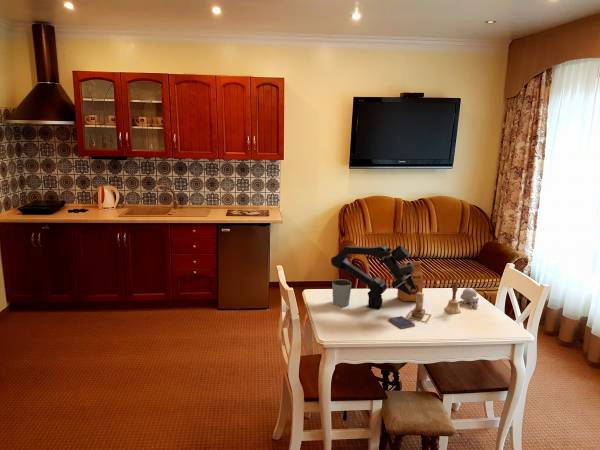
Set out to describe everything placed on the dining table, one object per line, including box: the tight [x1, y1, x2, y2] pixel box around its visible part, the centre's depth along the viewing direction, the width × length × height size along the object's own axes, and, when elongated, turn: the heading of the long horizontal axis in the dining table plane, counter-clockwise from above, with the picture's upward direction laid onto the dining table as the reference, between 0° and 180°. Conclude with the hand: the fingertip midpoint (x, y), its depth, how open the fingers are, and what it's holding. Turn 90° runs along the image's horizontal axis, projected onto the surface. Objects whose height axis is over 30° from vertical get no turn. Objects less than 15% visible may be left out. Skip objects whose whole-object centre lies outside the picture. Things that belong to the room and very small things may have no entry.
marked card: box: [403, 309, 434, 325], centre depth 223 cm, size 12×12×1 cm
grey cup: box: [331, 278, 352, 308], centre depth 234 cm, size 10×10×12 cm
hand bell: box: [443, 281, 462, 315], centre depth 230 cm, size 8×8×16 cm
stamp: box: [411, 292, 426, 319], centre depth 221 cm, size 5×5×12 cm
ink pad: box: [387, 315, 416, 329], centre depth 214 cm, size 10×8×1 cm
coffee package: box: [396, 260, 424, 302], centre depth 243 cm, size 10×12×22 cm
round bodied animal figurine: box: [460, 287, 479, 309], centre depth 240 cm, size 7×12×8 cm, turn 10°
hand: (413, 291), depth 222 cm, fingers open, 9 cm apart
